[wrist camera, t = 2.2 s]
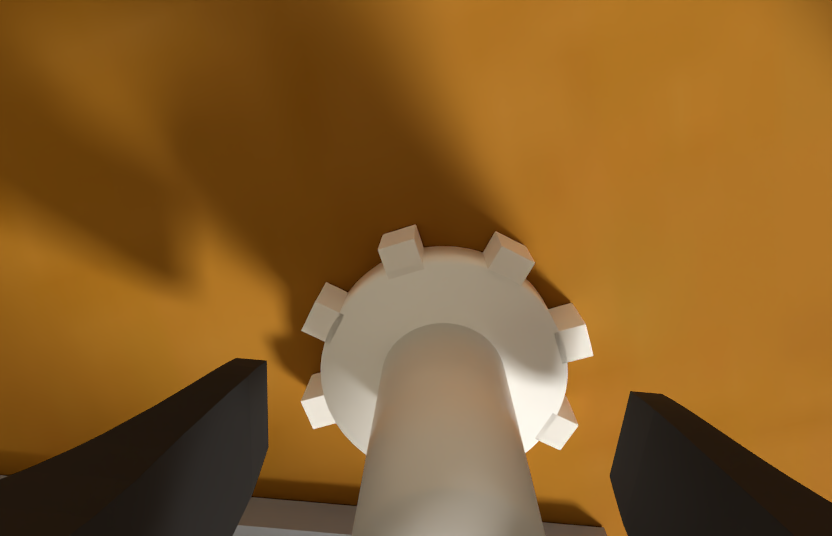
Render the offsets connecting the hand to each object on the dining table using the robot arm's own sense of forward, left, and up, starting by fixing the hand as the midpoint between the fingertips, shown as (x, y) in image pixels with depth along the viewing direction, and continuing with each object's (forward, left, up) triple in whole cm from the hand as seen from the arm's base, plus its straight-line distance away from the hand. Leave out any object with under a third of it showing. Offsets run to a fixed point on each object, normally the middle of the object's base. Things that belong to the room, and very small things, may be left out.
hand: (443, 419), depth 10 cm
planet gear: (0, 0, -3) cm, 3 cm away
